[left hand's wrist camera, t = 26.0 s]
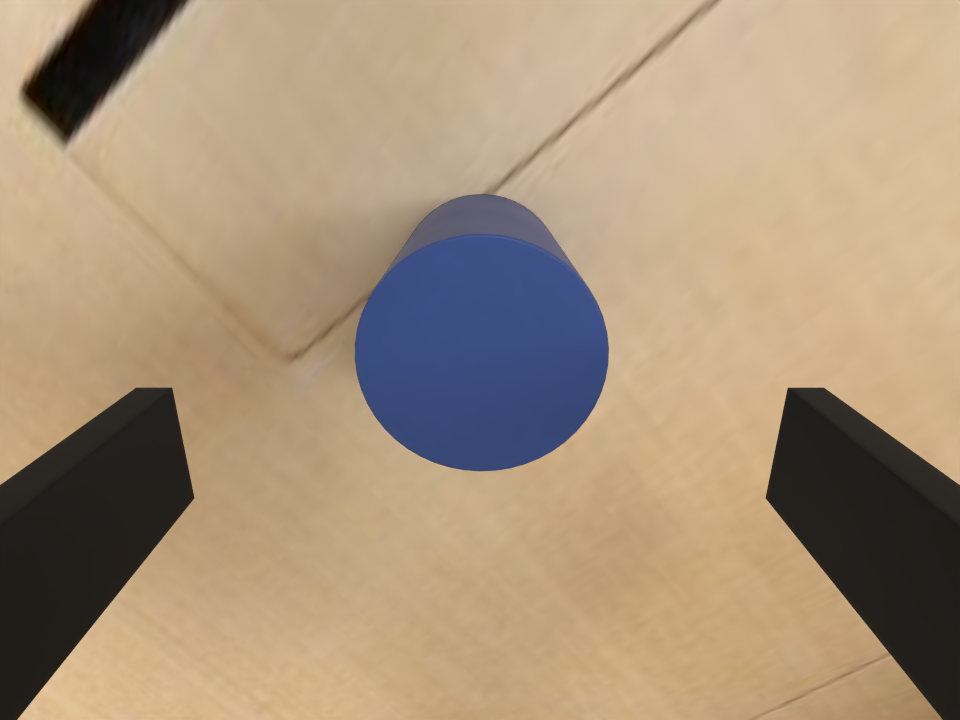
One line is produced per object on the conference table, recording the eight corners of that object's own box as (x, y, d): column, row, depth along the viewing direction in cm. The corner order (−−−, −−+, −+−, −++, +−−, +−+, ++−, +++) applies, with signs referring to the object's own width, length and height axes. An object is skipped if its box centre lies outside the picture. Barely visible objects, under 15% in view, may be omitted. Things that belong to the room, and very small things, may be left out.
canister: (587, 306, 27) (649, 407, 17) (452, 375, 28) (436, 507, 18) (514, 162, 25) (537, 182, 15) (371, 245, 26) (303, 314, 16)
